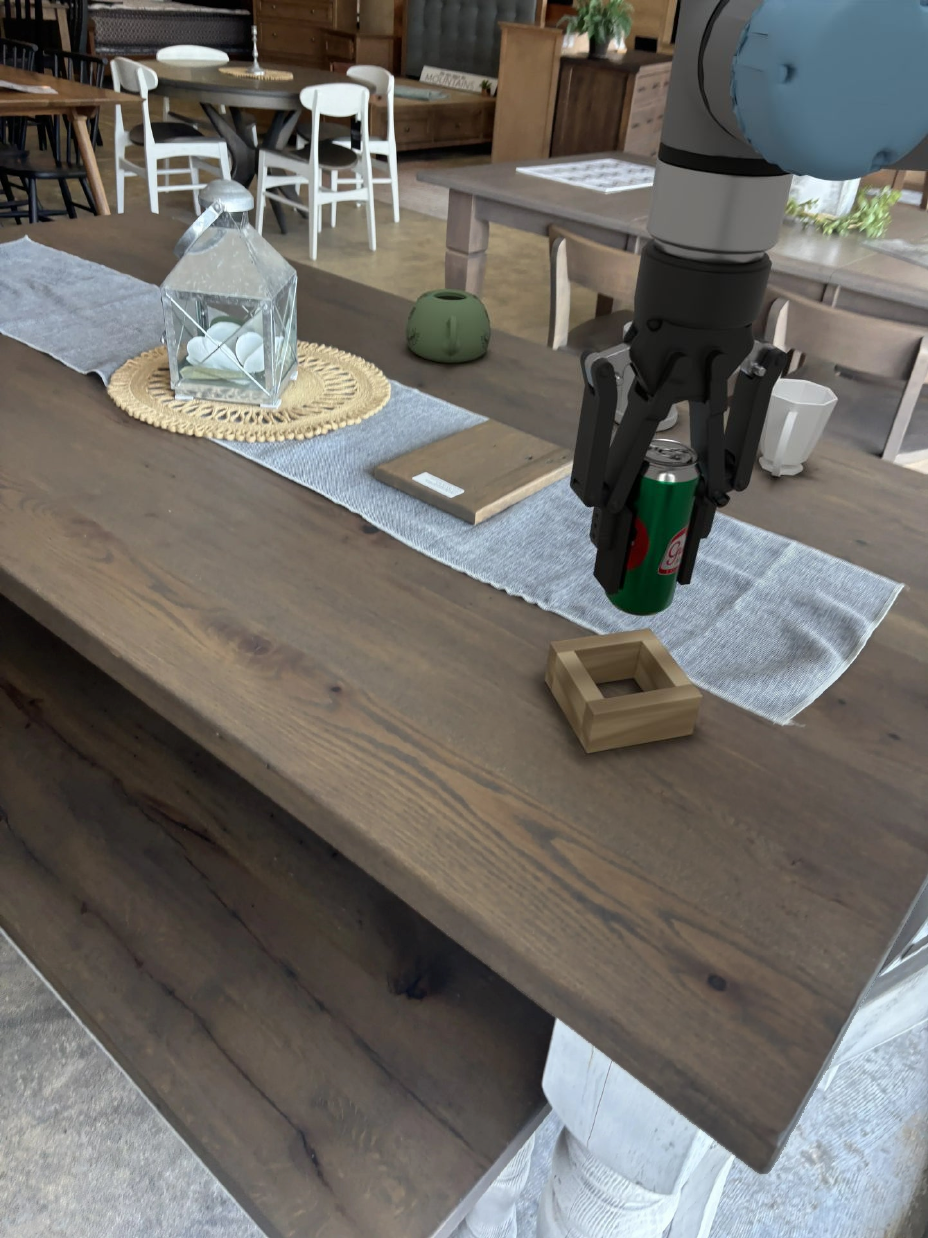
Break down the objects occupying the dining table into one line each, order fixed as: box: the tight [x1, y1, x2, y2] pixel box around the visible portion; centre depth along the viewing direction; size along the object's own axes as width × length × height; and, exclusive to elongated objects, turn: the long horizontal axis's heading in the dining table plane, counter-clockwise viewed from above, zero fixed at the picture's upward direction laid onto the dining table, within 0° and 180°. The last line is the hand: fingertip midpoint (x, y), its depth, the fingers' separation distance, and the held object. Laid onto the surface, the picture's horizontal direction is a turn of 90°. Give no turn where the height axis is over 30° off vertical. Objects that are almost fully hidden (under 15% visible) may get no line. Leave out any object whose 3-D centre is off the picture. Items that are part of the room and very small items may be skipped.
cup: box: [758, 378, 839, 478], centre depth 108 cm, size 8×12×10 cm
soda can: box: [603, 438, 702, 617], centre depth 64 cm, size 5×5×12 cm
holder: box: [544, 627, 703, 754], centre depth 72 cm, size 9×9×4 cm
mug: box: [405, 288, 492, 364], centre depth 135 cm, size 16×13×9 cm
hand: (641, 578), depth 66 cm, fingers closed on soda can, 5 cm apart
